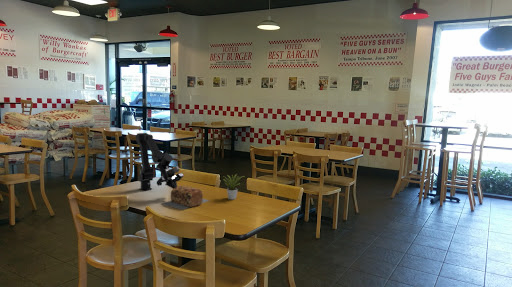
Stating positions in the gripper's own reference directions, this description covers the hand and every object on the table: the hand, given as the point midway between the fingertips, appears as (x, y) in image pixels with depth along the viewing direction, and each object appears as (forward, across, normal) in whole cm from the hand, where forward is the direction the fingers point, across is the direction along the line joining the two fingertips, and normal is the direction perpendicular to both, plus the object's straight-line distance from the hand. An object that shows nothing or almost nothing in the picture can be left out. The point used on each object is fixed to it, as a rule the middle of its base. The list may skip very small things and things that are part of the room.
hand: (176, 189), depth 228 cm
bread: (+11, -2, -2) cm, 12 cm away
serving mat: (+10, 0, -1) cm, 10 cm away
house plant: (+22, +27, -13) cm, 37 cm away
